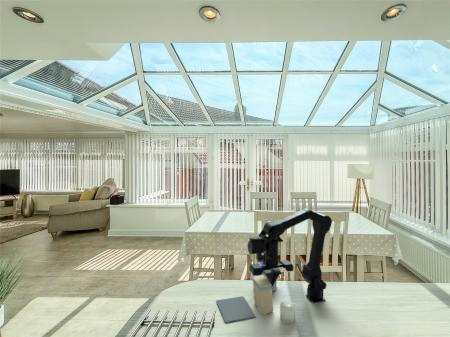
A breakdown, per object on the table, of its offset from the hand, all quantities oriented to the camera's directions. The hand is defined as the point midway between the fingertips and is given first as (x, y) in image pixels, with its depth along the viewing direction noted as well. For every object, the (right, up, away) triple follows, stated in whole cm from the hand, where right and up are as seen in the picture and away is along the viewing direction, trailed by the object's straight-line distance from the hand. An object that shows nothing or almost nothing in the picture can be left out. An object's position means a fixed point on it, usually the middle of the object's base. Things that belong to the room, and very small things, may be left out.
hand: (271, 286), depth 115 cm
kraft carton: (-4, -9, -1) cm, 9 cm away
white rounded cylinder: (+5, -9, -9) cm, 14 cm away
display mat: (-16, -9, -2) cm, 19 cm away
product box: (0, -8, +16) cm, 18 cm away
